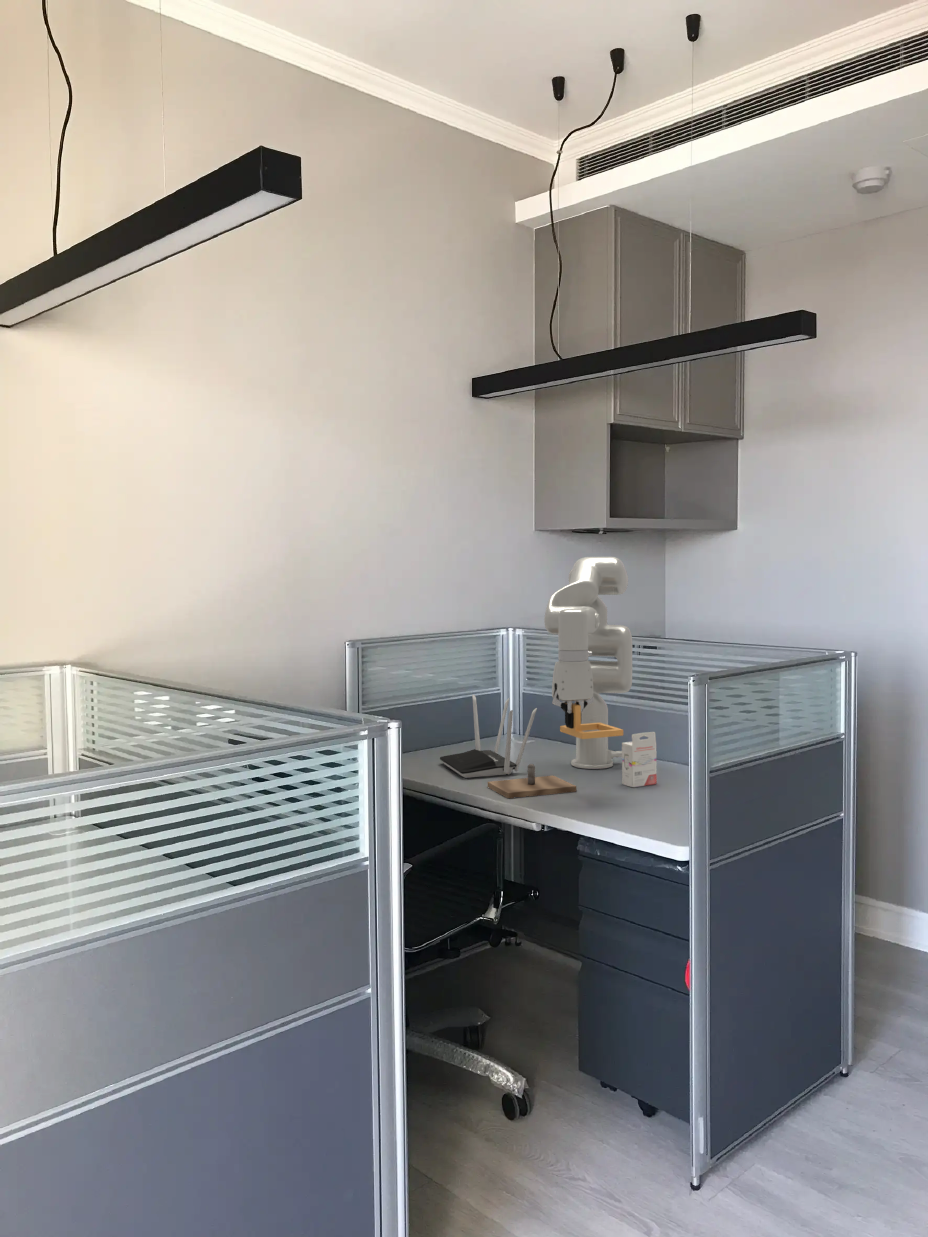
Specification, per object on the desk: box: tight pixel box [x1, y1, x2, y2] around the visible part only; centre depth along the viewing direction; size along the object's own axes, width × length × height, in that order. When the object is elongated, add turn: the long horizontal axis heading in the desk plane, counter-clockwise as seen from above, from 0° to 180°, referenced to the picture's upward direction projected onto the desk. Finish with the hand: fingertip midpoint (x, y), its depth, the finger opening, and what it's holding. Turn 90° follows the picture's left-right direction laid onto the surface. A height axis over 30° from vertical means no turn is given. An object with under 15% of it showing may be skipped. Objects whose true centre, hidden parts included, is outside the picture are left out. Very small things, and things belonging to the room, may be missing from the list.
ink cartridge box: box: [621, 731, 658, 788], centre depth 272 cm, size 9×5×15 cm, turn 117°
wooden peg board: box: [487, 763, 577, 799], centre depth 267 cm, size 20×14×7 cm
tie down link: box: [559, 702, 624, 739], centre depth 257 cm, size 12×12×8 cm
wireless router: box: [439, 694, 538, 779], centre depth 293 cm, size 34×23×20 cm
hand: (573, 727), depth 255 cm, fingers closed on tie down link, 1 cm apart
